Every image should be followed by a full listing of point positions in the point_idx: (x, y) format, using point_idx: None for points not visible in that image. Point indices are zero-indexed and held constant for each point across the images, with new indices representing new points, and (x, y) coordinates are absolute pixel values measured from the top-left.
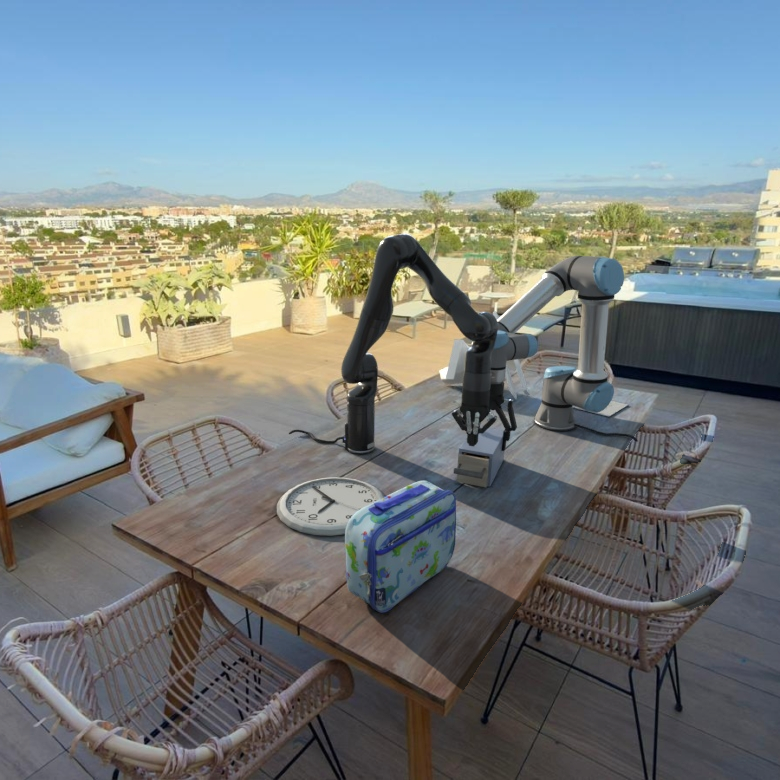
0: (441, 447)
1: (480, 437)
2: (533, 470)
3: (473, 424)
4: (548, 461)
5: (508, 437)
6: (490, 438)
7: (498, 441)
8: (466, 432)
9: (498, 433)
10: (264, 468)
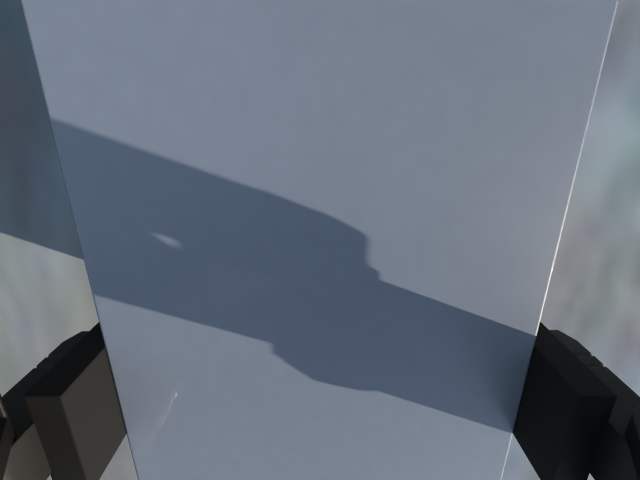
0: (609, 328)
1: (380, 169)
2: (31, 248)
3: (556, 474)
4: (13, 384)
5: (53, 359)
6: (226, 197)
7: (71, 127)
8: (575, 342)
9: (188, 403)
10: None
